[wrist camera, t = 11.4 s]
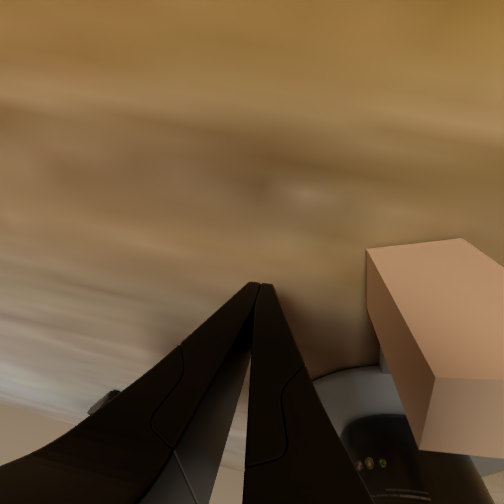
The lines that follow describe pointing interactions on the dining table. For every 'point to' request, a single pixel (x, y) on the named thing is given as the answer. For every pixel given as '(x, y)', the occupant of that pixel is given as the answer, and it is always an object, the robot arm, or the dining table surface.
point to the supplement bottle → (409, 465)
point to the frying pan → (432, 350)
